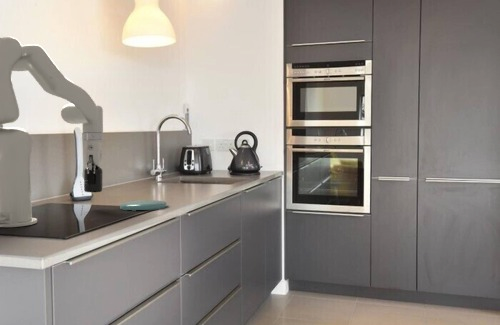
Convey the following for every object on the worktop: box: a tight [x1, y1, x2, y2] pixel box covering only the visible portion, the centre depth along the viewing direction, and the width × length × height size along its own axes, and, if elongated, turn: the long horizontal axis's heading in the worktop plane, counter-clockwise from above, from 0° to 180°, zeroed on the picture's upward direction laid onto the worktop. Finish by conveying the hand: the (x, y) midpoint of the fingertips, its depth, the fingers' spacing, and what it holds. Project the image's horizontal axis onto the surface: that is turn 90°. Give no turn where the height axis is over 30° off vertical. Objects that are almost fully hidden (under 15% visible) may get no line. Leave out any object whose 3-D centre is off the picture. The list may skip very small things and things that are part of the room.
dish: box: [119, 199, 168, 212], centre depth 199 cm, size 18×18×2 cm
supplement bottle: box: [83, 163, 104, 193], centre depth 195 cm, size 7×7×12 cm
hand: (93, 183), depth 195 cm, fingers closed on supplement bottle, 6 cm apart
